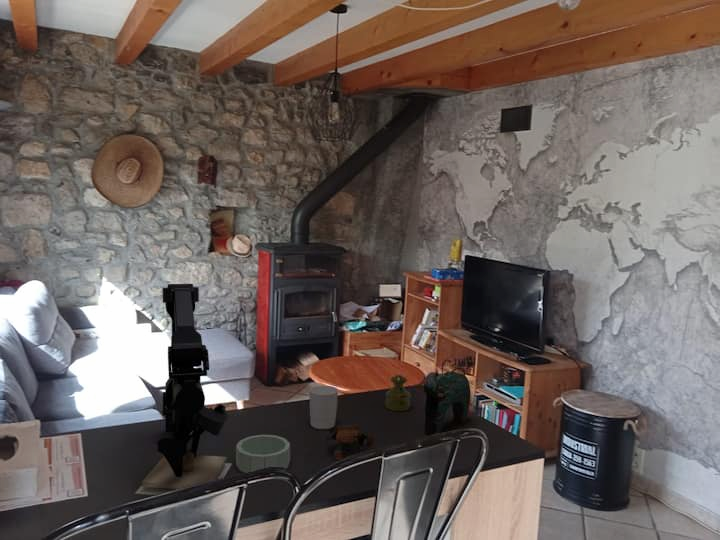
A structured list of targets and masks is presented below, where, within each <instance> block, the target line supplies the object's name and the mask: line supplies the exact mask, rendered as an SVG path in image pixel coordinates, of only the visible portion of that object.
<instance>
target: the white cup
mask: <svg viewBox="0 0 720 540" xmlns="http://www.w3.org/2000/svg"><path fill="white" fill-rule="evenodd" d="M338 397H339V388H337V387H335V386H331V385H315V386H312V387H310V388H309V416H310V417H309V418H310V426H311V427H313V428H314V429H318V430H327V429H328V430H329V429H330V428H333V427H335V426H336V416H337V410H338Z"/></svg>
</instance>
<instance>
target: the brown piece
mask: <svg viewBox="0 0 720 540" xmlns="http://www.w3.org/2000/svg"><path fill="white" fill-rule="evenodd" d="M328 430H329V434H328V435H327V437H326V439H325V441H326V442H328V441H329V440H330V441H331V440H334V441H337V442H338V443H339V446H340V447H339V448H340V449H338V450H334V451H333V456H334V460H335V461H341V460H340V459H342V458H345V457H347V456H350V455H353V454H356V453H359V452H363V453H364V452H365V451H369V449H371V447H372V446H373V443H374V440H373V436H372V435H371V433H368V432H364V431H363V432H360V431H359V426H358V425H351V424H349V425H348V424H347V425H340V426H337V425H336V426H334V427H332V428H329V429H328ZM355 438H357V439H355ZM365 440H366V443H365ZM359 454H360V453H359Z"/></svg>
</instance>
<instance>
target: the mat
mask: <svg viewBox="0 0 720 540" xmlns="http://www.w3.org/2000/svg"><path fill="white" fill-rule="evenodd" d="M232 465H233V463H232V462H231V463H230V462H226V463H225V465H224V466H223V468H222V470H221V471H220V473H219V474H218V476H217V478H216V479H221V478H223V479H224V478H225V476H226V475H227V474H228V472H229V470H230V468H231V466H232ZM216 479H215V480H216ZM171 490H175V489H171V488H154V487H142V485H141V486H139V488H138V489H137V490H136V491H135V492H134V494H136V495H148V496H149V495H150V496H152V495H153V496H157V495H156V494H161V493H164V492H168V491H171Z"/></svg>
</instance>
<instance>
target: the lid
mask: <svg viewBox="0 0 720 540" xmlns="http://www.w3.org/2000/svg"><path fill="white" fill-rule="evenodd" d="M227 460H228V457H227V456H220V455H219V456H217V455H200V454H198V455H196V458H194V453H192V452H188V453H187V454H186V455H185V461H184V467H183V473H182V476H181V477H176V475H175V474H174V472H173V470H172V468H171V466H170V465H169V463H168V461H167V460H166V458H165V457H164V456H163V457H162V458H161V459H160V460H159V462H157V463H156V465H155V466H154V467H153V468H152V469H151V471H150V472H149V473H148V474H147V475H146V476H145V478H144V479H143V480H141V486H142V487H154V488H171V489H179V488H183V487H187V486H191V485H195V484H199V483H204V482H208V481H213V480H215V479H216V478H217V476H218V474H219V473H220V471H221V470H222V468H223V466H224V465H225V463H227Z"/></svg>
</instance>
